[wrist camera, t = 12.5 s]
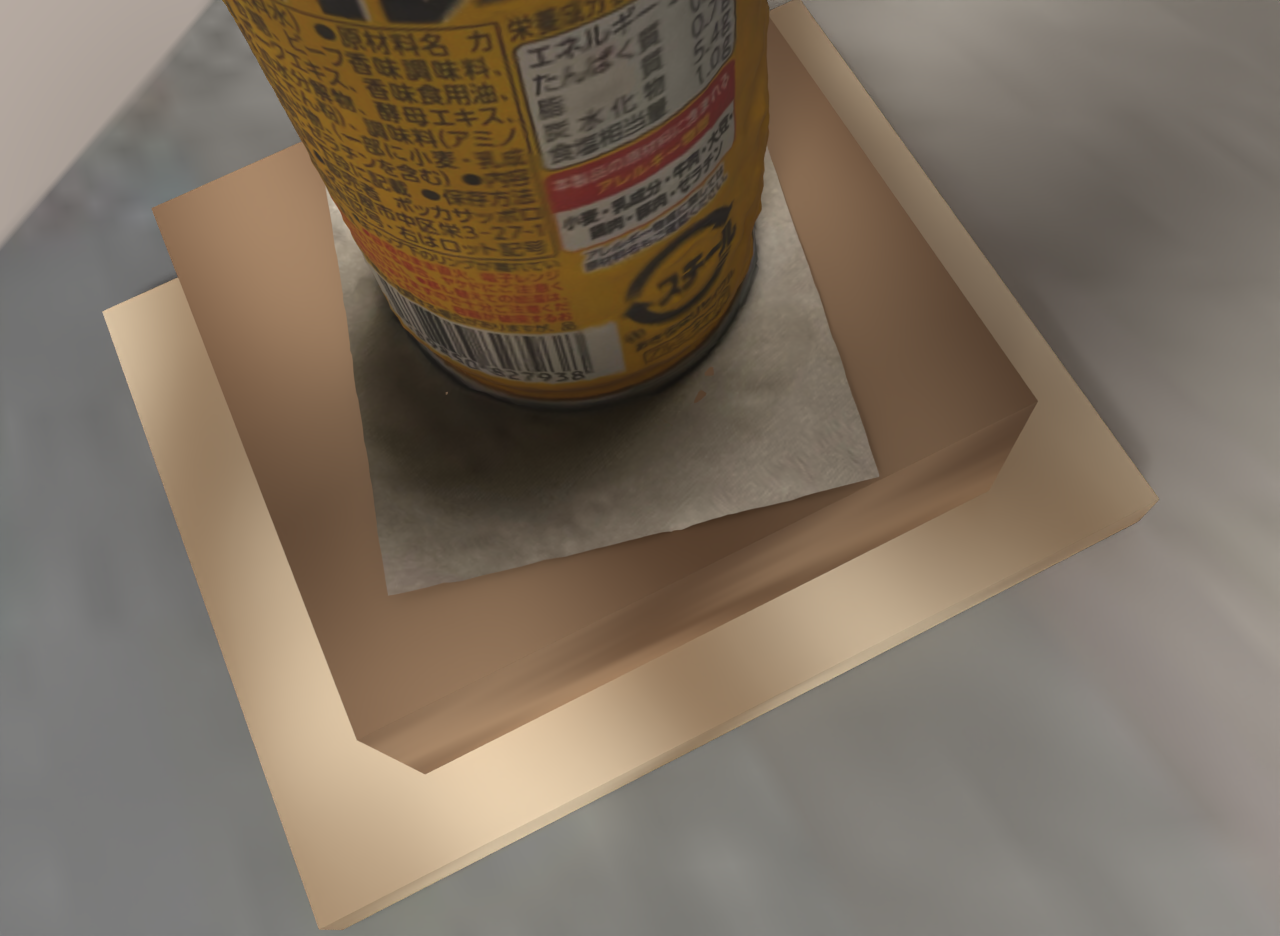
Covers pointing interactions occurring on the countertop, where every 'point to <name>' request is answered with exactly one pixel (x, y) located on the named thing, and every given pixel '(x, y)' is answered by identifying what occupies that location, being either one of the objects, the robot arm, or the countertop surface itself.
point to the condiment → (560, 270)
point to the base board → (656, 709)
